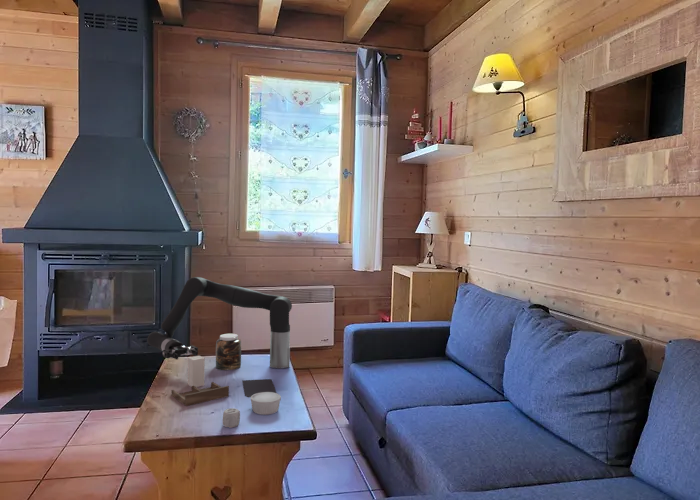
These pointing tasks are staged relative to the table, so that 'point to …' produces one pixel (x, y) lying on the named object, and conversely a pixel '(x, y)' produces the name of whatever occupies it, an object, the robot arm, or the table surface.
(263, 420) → the table surface
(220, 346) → the jar
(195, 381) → the cream block
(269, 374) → the table surface
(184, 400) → the lane rack
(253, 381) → the notebook
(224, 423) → the die
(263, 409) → the ramekin
